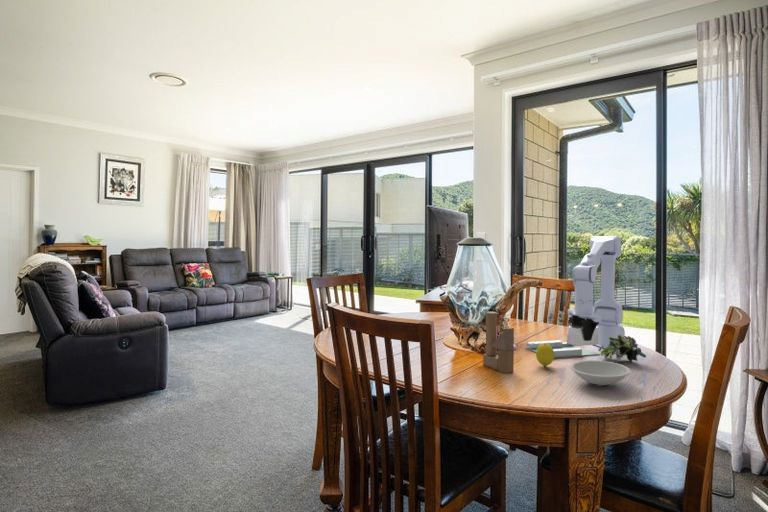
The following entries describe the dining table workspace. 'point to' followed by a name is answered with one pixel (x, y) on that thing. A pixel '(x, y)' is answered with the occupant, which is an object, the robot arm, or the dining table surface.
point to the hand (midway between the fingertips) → (583, 338)
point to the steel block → (581, 336)
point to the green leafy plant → (622, 348)
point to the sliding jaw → (552, 343)
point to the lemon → (545, 354)
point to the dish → (600, 371)
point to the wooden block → (498, 346)
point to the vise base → (584, 351)
